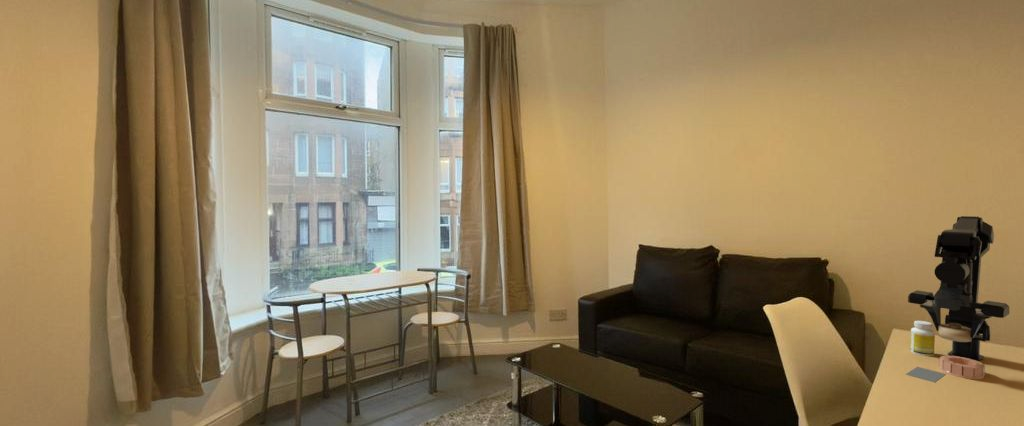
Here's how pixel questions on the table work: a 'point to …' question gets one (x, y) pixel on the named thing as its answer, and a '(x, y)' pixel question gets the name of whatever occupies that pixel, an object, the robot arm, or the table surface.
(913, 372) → the mat
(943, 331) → the lid
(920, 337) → the supplement bottle
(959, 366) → the pink notched ring
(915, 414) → the table surface
